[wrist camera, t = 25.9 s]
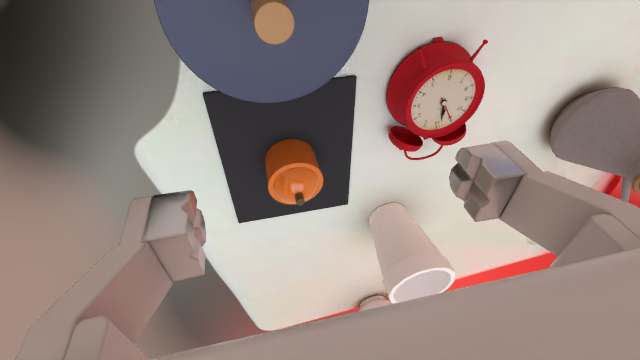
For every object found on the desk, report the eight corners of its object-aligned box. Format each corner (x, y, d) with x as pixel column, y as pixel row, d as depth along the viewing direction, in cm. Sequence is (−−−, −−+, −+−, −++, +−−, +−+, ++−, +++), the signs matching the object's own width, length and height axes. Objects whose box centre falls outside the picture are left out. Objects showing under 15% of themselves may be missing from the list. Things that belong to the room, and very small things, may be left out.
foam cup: (388, 239, 58) (420, 308, 49) (348, 228, 53) (375, 302, 44) (425, 203, 54) (468, 272, 44) (385, 188, 49) (423, 262, 40)
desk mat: (203, 92, 33) (202, 94, 33) (355, 75, 35) (356, 77, 35) (238, 221, 47) (238, 223, 46) (347, 202, 49) (347, 204, 49)
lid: (113, -136, 18) (89, -139, 15) (373, -139, 21) (404, -143, 17) (190, 106, 29) (186, 137, 25) (357, 86, 31) (374, 112, 27)
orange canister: (260, 142, 38) (267, 185, 33) (314, 135, 39) (329, 175, 34) (267, 182, 42) (274, 226, 37) (315, 175, 43) (329, 216, 38)
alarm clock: (506, 35, 32) (481, 169, 40) (468, 29, 37) (453, 148, 45) (406, 48, 31) (400, 185, 38) (381, 40, 36) (381, 161, 44)
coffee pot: (553, 91, 43) (664, 162, 33) (634, 69, 44) (768, 132, 33) (513, 197, 58) (580, 270, 47) (573, 180, 59) (653, 248, 48)
